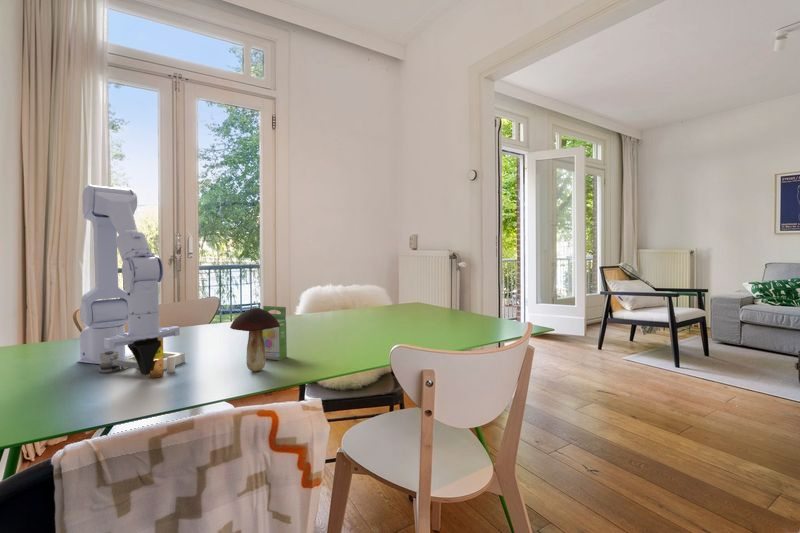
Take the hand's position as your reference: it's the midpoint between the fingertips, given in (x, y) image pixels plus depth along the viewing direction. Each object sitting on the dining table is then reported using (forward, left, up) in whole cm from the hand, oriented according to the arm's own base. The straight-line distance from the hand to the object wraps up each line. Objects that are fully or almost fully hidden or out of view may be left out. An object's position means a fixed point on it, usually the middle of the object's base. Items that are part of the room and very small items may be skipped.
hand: (145, 374), depth 86 cm
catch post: (+1, +6, -1) cm, 7 cm away
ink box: (+16, +23, -2) cm, 28 cm away
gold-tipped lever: (-7, +3, -1) cm, 7 cm away
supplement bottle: (-8, +8, -2) cm, 11 cm away
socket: (-8, +8, -1) cm, 11 cm away
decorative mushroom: (+19, +12, -2) cm, 23 cm away
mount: (-14, +3, -1) cm, 14 cm away
